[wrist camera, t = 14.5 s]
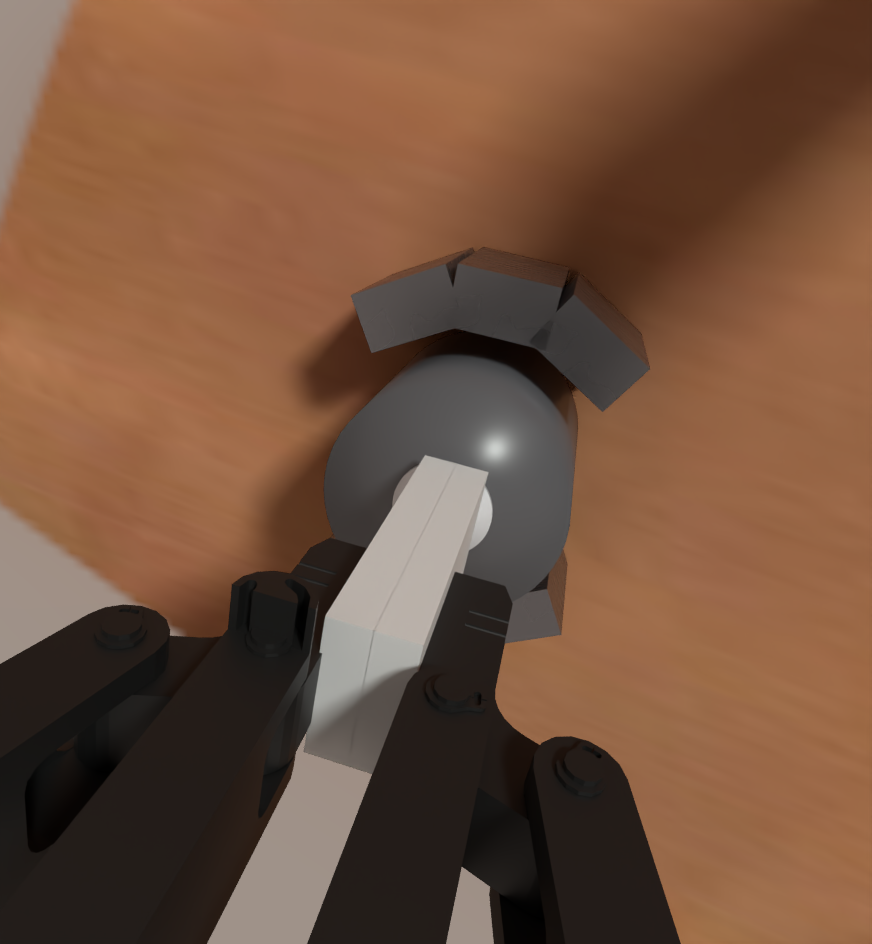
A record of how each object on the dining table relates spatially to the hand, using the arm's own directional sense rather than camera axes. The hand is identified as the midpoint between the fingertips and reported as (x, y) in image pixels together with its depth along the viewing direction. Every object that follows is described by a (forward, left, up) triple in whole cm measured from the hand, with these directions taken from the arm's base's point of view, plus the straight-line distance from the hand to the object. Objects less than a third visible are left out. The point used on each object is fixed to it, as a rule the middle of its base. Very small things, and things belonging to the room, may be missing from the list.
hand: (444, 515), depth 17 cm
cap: (0, 0, -7) cm, 7 cm away
